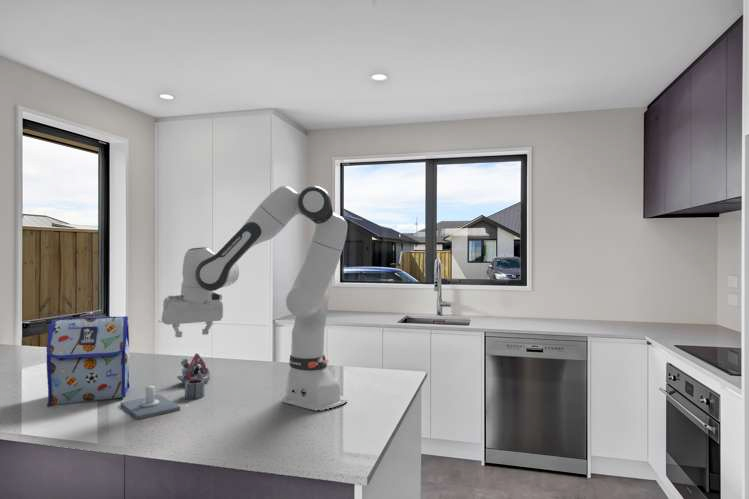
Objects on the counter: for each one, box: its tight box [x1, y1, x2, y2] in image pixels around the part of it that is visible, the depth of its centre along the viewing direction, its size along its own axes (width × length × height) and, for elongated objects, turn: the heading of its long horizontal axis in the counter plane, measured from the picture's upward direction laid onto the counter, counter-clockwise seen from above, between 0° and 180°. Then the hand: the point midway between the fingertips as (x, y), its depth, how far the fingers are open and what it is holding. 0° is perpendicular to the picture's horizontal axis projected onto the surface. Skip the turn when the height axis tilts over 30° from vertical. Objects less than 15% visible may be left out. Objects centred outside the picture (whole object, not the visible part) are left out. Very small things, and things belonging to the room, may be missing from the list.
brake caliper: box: [176, 352, 211, 385], centre depth 170 cm, size 11×11×12 cm
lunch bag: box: [46, 315, 131, 407], centre depth 150 cm, size 23×17×27 cm
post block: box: [120, 385, 181, 420], centre depth 142 cm, size 16×12×6 cm
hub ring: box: [184, 379, 206, 400], centre depth 154 cm, size 6×6×5 cm
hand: (192, 335), depth 155 cm, fingers open, 8 cm apart
